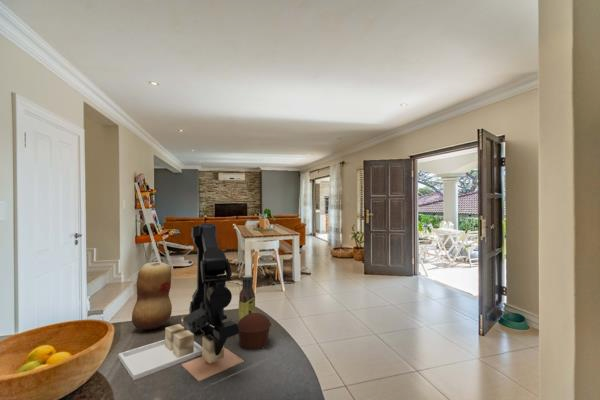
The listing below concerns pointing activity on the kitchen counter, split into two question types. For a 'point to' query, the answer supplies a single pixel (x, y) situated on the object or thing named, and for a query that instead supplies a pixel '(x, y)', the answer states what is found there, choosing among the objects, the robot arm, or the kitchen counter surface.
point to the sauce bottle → (246, 297)
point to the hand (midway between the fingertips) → (213, 351)
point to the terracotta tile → (211, 365)
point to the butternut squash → (152, 296)
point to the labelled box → (210, 350)
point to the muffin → (254, 331)
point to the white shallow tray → (153, 359)
